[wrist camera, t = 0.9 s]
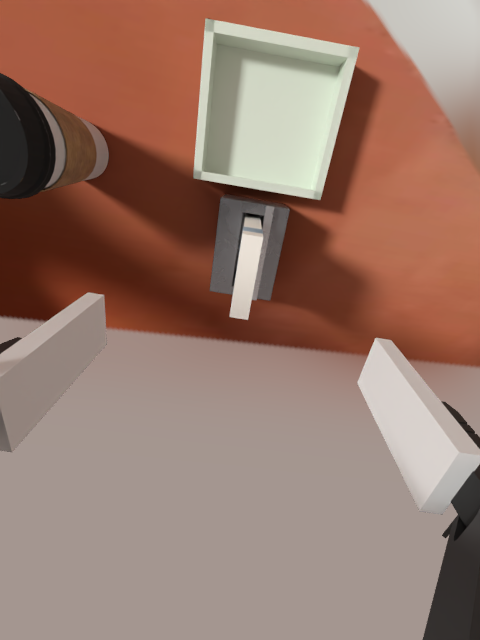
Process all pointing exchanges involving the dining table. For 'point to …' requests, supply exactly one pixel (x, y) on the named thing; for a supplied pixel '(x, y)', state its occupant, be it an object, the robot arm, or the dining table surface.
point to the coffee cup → (44, 144)
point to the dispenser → (230, 241)
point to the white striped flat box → (247, 266)
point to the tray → (269, 108)
